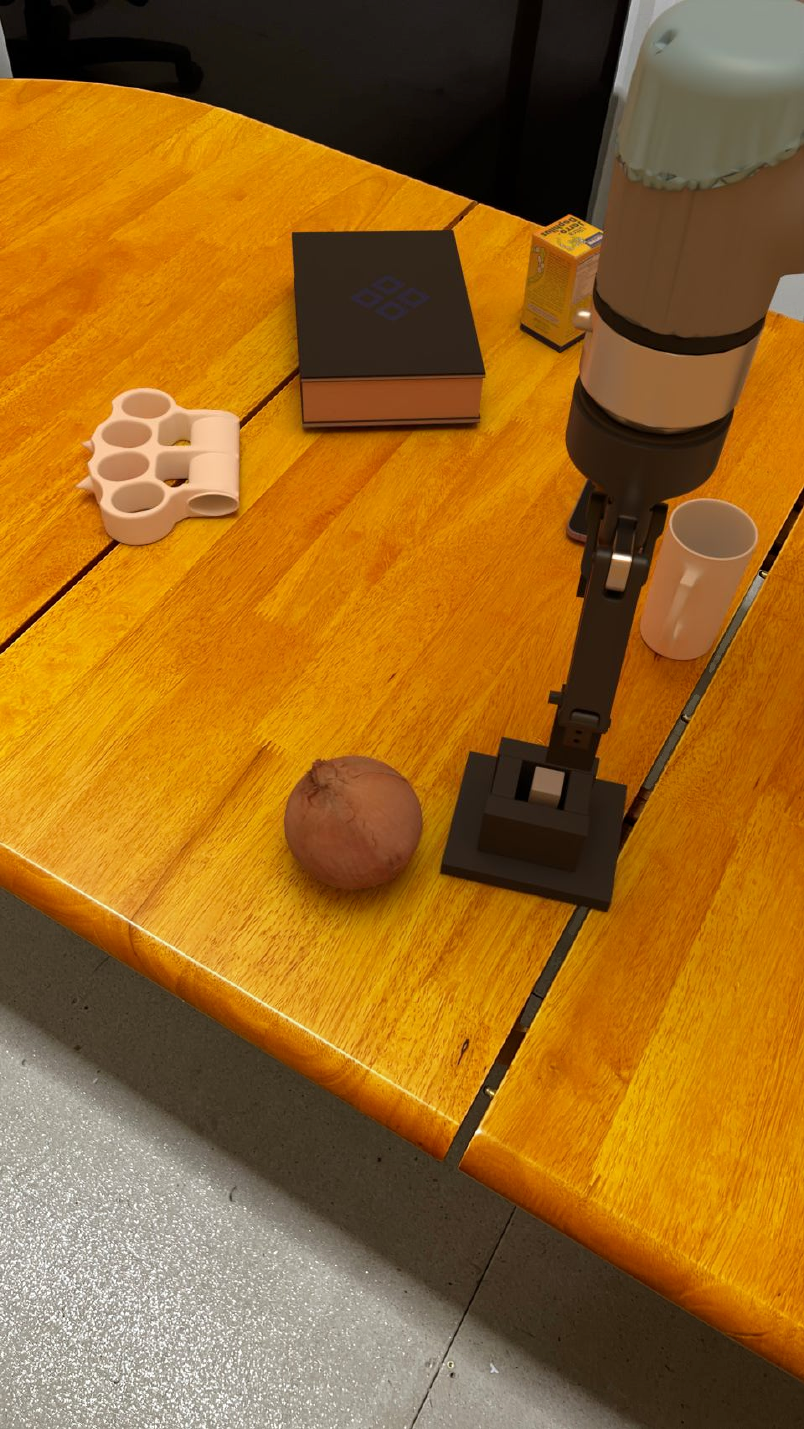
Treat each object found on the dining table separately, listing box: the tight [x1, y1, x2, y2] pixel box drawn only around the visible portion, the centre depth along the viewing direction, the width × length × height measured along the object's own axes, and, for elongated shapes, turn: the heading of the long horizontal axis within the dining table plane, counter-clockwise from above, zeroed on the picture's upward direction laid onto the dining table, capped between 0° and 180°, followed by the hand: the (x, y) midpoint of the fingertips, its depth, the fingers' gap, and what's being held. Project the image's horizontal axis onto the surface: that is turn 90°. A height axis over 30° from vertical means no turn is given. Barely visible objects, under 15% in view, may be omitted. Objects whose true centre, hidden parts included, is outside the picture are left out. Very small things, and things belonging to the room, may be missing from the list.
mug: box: [639, 497, 759, 661], centre depth 87 cm, size 10×7×12 cm, turn 151°
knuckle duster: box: [74, 387, 241, 546], centre depth 101 cm, size 3×18×15 cm
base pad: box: [439, 750, 628, 913], centre depth 78 cm, size 12×10×7 cm
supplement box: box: [519, 214, 603, 353], centre depth 114 cm, size 6×6×11 cm
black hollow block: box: [477, 736, 600, 872], centre depth 77 cm, size 7×7×5 cm
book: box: [291, 229, 487, 429], centre depth 112 cm, size 17×25×7 cm
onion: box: [283, 755, 424, 891], centre depth 75 cm, size 10×9×10 cm
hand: (583, 675), depth 68 cm, fingers open, 13 cm apart
